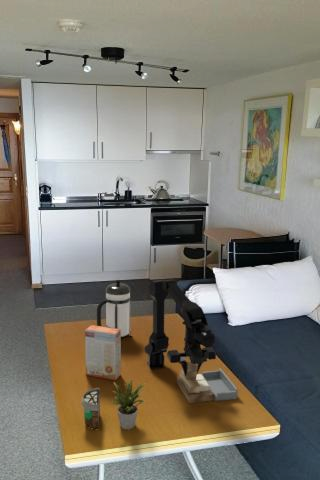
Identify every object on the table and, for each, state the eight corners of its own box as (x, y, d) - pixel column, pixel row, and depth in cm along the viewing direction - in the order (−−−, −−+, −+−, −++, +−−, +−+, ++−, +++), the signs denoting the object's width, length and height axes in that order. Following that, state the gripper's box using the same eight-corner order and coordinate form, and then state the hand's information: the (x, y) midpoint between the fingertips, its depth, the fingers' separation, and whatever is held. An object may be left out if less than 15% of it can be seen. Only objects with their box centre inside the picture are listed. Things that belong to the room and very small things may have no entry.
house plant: (154, 436, 154) (155, 391, 151) (114, 442, 150) (114, 397, 147) (143, 412, 168) (144, 371, 165) (106, 418, 164) (106, 376, 161)
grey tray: (215, 401, 177) (216, 391, 176) (200, 378, 194) (200, 370, 193) (237, 398, 179) (237, 389, 178) (219, 376, 196) (220, 367, 195)
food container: (83, 412, 167) (82, 387, 165) (100, 411, 168) (99, 386, 166) (80, 432, 155) (79, 406, 153) (98, 432, 156) (98, 405, 154)
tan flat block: (189, 403, 175) (189, 397, 174) (177, 382, 190) (177, 377, 190) (213, 400, 177) (213, 394, 177) (199, 380, 193) (200, 374, 192)
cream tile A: (198, 391, 178) (198, 387, 178) (194, 385, 183) (194, 381, 182) (208, 390, 180) (209, 385, 179) (205, 384, 184) (205, 380, 183)
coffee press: (105, 329, 244) (105, 274, 239) (134, 331, 242) (135, 276, 237) (96, 342, 228) (96, 284, 222) (128, 344, 226) (128, 286, 220)
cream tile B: (193, 384, 184) (194, 380, 183) (190, 379, 188) (190, 374, 187) (204, 383, 185) (204, 379, 184) (200, 378, 189) (200, 373, 189)
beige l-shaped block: (189, 393, 176) (192, 371, 174) (179, 376, 188) (182, 356, 186) (199, 392, 177) (202, 371, 175) (188, 376, 189) (191, 356, 187)
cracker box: (121, 374, 196) (121, 328, 192) (115, 381, 190) (115, 334, 186) (91, 369, 200) (91, 323, 196) (85, 375, 194) (84, 329, 190)
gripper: (174, 348, 169) (173, 387, 172) (222, 344, 173) (220, 382, 176) (167, 336, 179) (166, 373, 182) (211, 333, 184) (210, 369, 187)
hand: (190, 374), depth 182 cm, fingers closed on beige l-shaped block, 4 cm apart
